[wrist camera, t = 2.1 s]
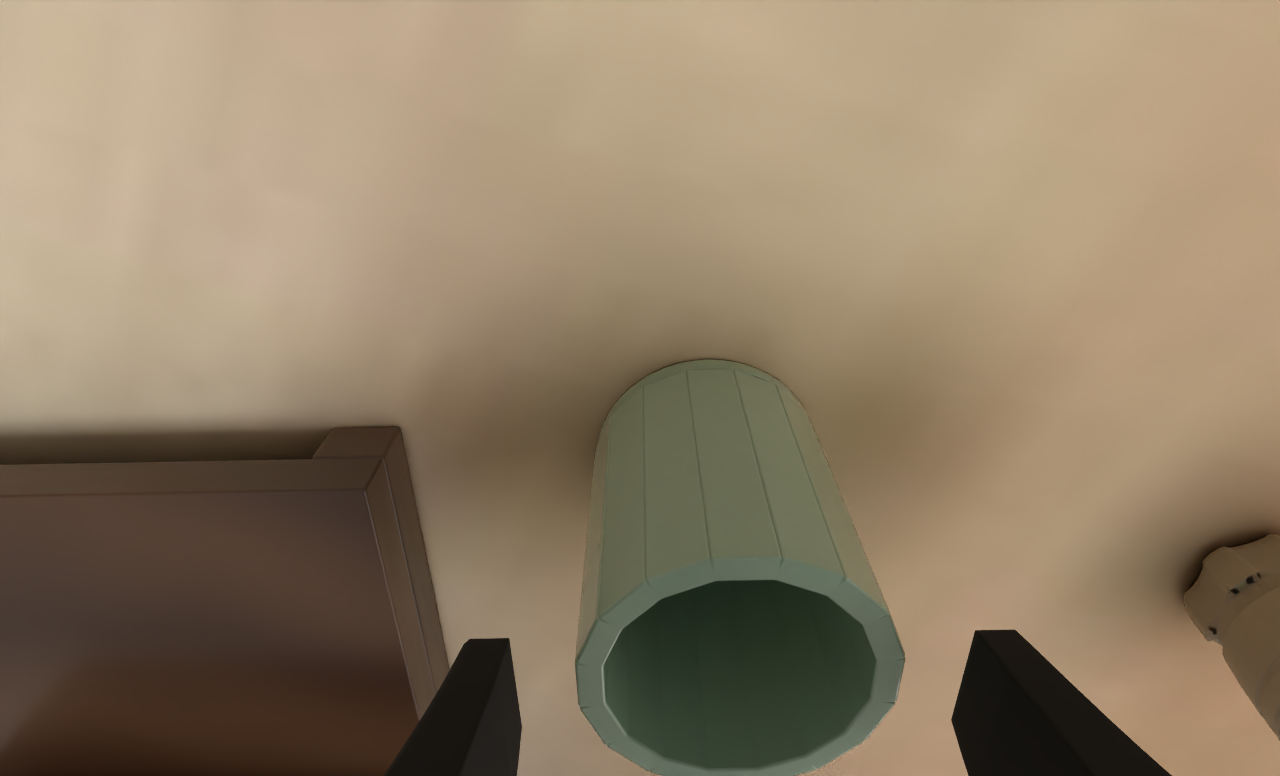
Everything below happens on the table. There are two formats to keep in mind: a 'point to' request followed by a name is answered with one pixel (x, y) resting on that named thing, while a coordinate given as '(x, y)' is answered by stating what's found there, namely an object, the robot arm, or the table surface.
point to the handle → (1244, 617)
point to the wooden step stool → (215, 615)
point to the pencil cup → (726, 585)
